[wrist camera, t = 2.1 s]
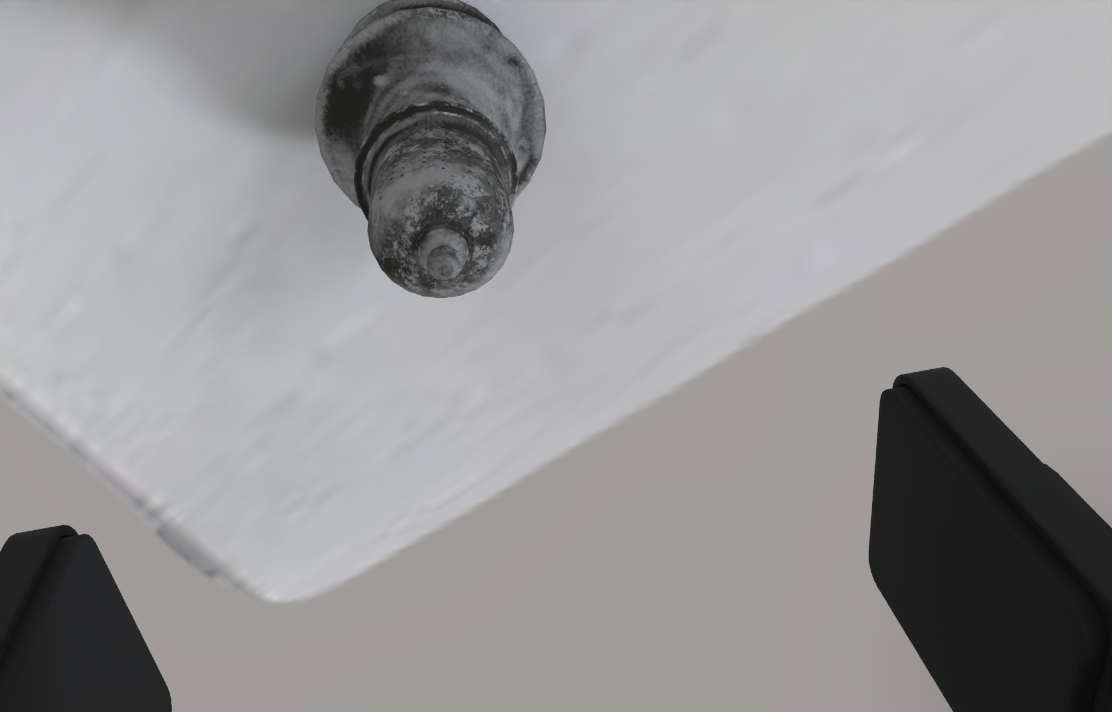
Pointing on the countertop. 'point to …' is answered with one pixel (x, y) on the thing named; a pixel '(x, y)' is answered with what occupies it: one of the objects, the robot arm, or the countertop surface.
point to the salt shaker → (432, 140)
